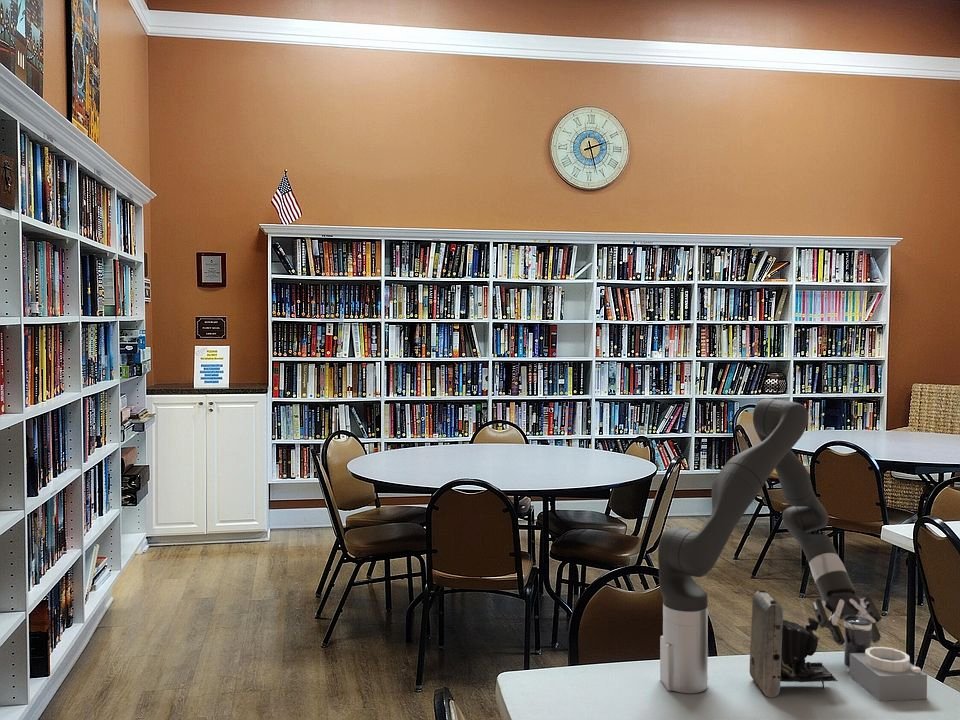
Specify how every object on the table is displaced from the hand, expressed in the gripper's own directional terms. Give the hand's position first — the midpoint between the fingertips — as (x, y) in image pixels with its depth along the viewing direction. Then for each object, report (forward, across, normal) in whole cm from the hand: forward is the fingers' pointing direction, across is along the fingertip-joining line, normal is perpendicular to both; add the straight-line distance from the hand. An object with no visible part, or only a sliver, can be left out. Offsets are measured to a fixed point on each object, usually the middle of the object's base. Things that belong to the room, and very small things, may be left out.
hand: (859, 642), depth 184 cm
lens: (+3, 0, +4) cm, 5 cm away
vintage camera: (+10, -21, -2) cm, 23 cm away
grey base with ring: (+12, -1, -4) cm, 13 cm away
